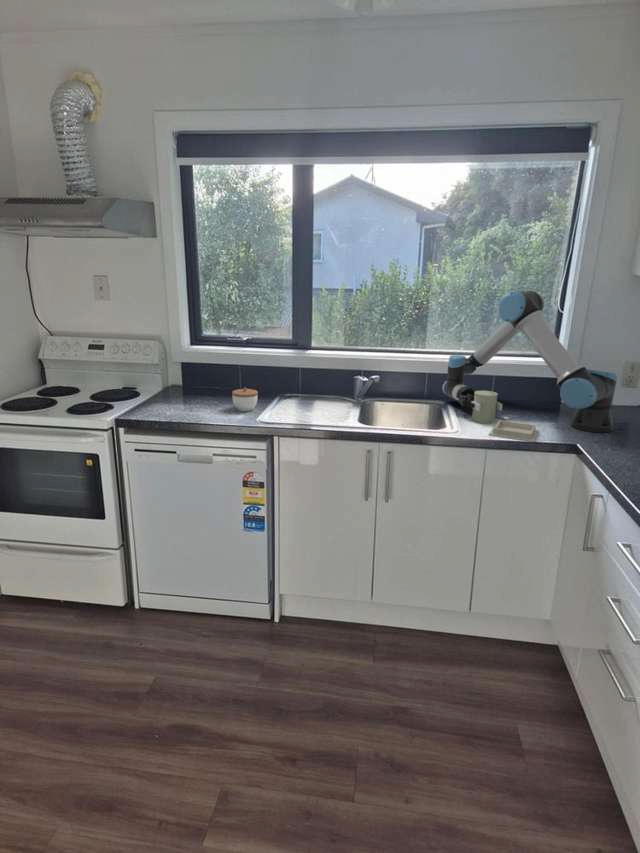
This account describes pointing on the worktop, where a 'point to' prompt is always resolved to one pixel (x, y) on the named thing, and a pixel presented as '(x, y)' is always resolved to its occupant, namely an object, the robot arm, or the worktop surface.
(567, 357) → the robot arm
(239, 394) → the lidded jar
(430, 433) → the worktop surface
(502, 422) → the square tray
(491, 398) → the can
